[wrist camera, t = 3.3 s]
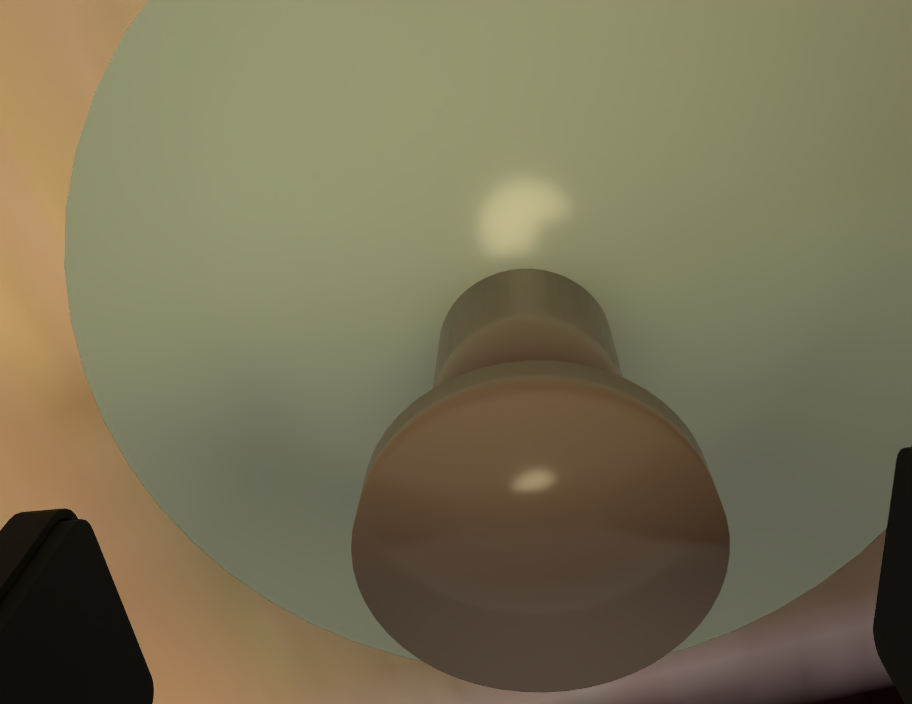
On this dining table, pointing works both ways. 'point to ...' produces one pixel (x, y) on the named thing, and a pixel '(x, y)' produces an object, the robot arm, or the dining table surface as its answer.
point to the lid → (506, 310)
